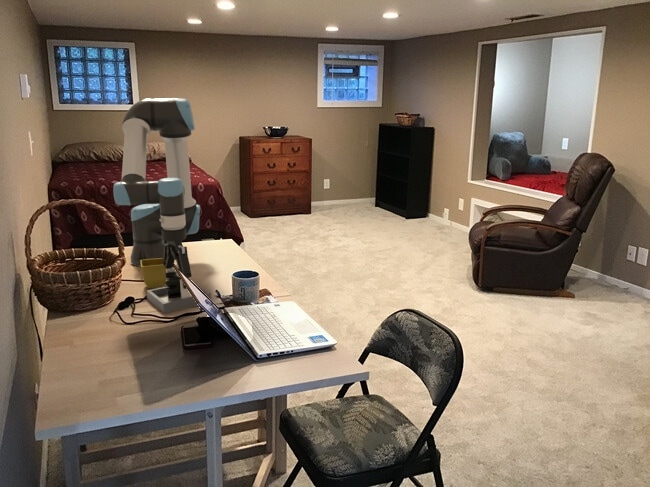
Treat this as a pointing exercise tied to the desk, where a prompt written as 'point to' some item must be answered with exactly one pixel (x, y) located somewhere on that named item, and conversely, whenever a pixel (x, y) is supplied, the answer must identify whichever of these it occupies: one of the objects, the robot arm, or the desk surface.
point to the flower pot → (153, 272)
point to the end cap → (173, 285)
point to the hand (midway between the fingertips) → (178, 292)
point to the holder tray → (171, 300)
